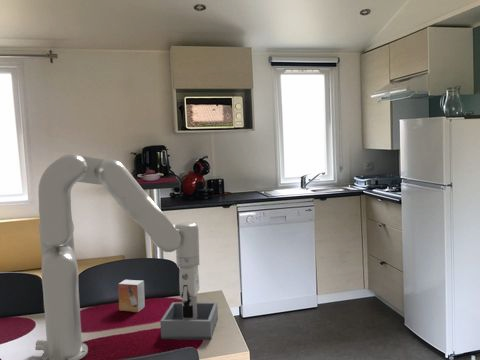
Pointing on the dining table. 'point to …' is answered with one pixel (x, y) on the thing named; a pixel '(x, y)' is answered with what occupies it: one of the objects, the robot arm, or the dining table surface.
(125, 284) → the small box
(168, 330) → the box
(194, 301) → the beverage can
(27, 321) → the dining table surface
